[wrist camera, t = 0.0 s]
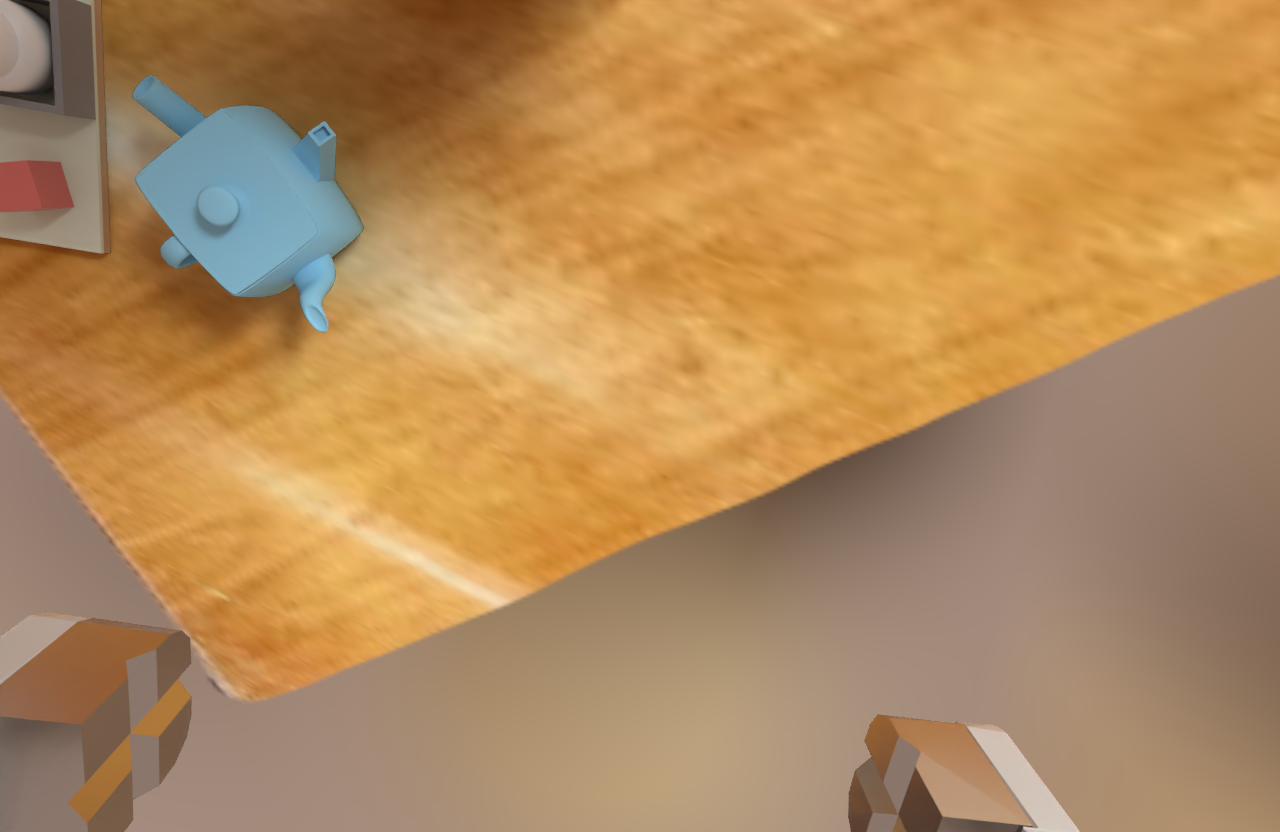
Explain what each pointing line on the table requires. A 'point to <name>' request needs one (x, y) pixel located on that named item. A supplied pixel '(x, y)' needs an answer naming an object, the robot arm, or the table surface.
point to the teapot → (248, 199)
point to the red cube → (33, 186)
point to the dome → (24, 50)
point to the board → (64, 131)
